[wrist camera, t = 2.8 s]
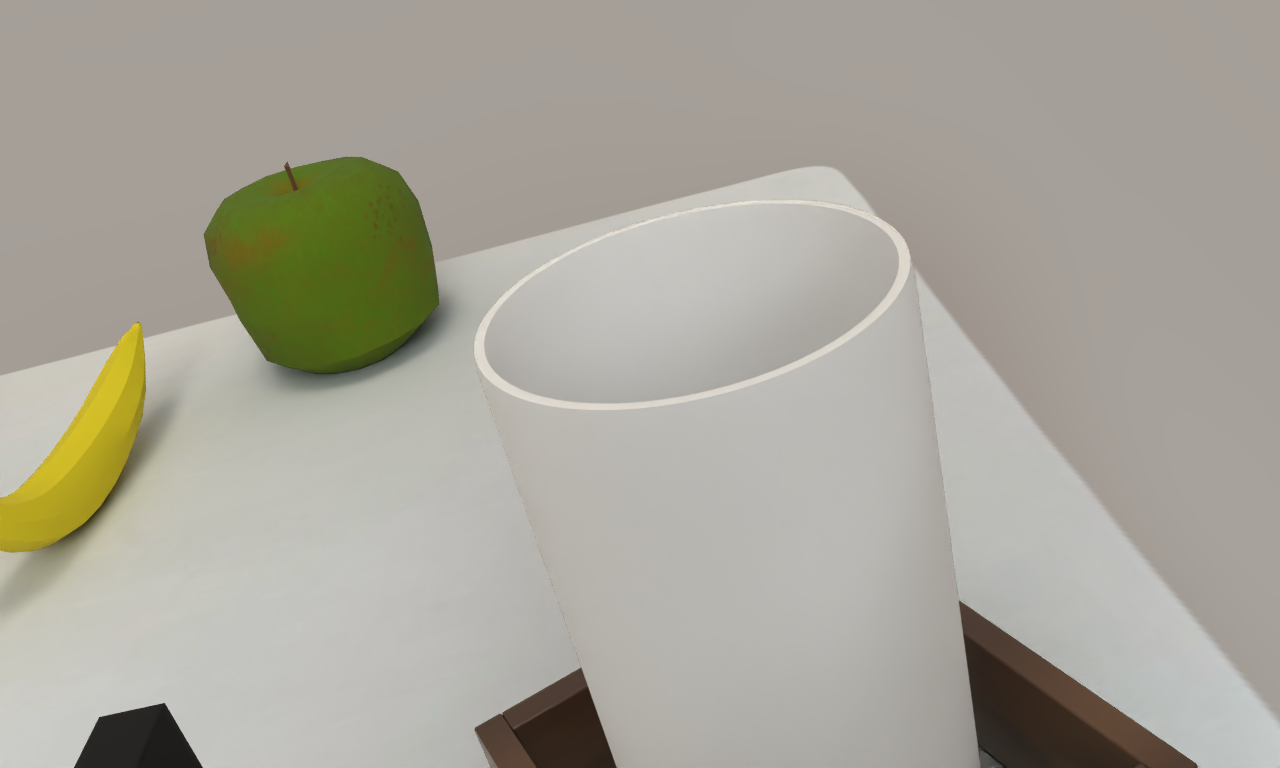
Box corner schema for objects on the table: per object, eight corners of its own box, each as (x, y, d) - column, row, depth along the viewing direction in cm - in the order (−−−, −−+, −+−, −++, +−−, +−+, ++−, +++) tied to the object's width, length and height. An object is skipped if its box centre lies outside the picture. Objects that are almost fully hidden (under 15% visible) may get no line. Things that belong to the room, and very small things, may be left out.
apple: (485, 292, 66) (425, 111, 61) (398, 390, 57) (319, 190, 52) (327, 305, 70) (258, 137, 65) (224, 399, 62) (135, 214, 56)
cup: (653, 761, 32) (487, 256, 25) (938, 702, 32) (857, 166, 24) (675, 1046, 25) (450, 457, 18) (1043, 976, 25) (974, 336, 17)
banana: (201, 395, 63) (151, 293, 60) (21, 630, 46) (-61, 506, 43) (153, 404, 63) (101, 303, 60) (-41, 640, 47) (-126, 518, 44)
